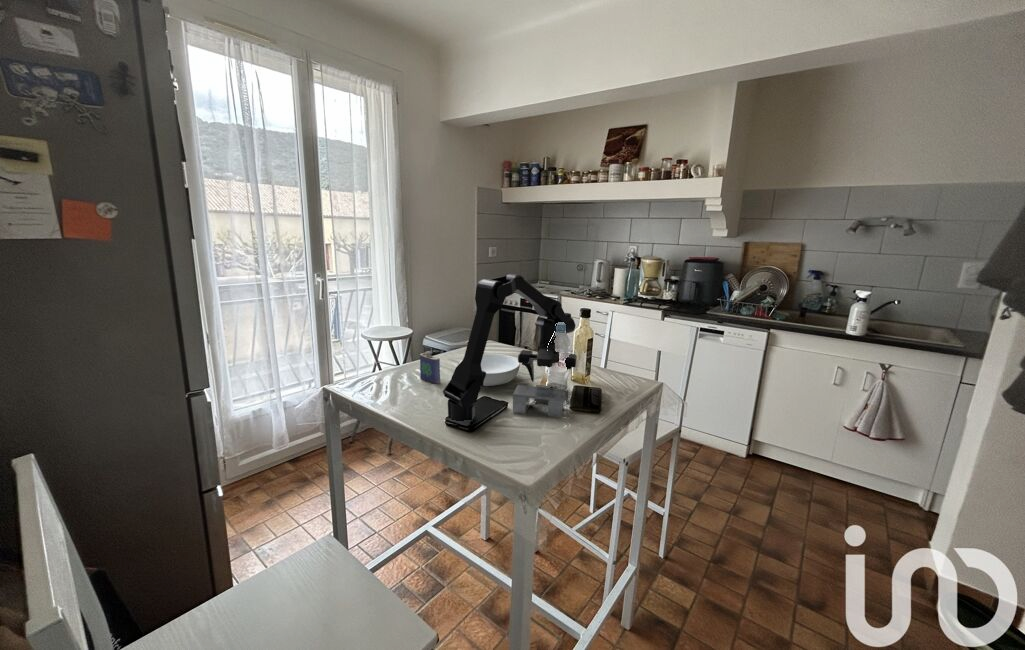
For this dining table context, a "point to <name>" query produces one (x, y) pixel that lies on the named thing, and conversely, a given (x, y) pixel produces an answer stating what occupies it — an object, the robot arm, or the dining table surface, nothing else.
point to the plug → (542, 384)
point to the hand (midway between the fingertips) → (546, 382)
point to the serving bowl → (498, 368)
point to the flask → (429, 368)
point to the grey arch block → (526, 392)
